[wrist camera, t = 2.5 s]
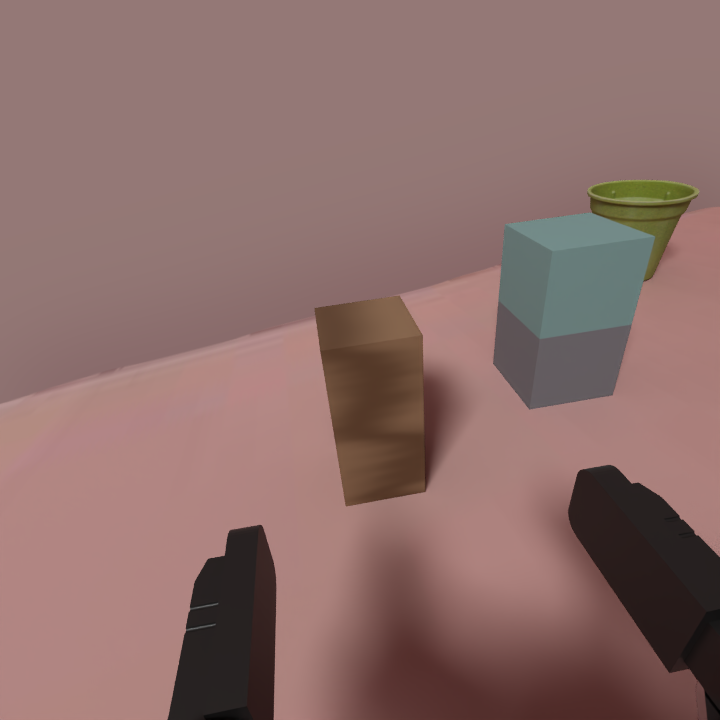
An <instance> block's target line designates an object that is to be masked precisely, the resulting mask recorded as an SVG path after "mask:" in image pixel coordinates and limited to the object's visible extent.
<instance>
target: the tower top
mask: <svg viewBox="0 0 720 720" xmlns="http://www.w3.org/2000/svg"><path fill="white" fill-rule="evenodd" d="M654 240H655V236H653V235H650V234H647V233H644V232H642V231H639V230H636V229H634V228H631V227H628V226H625V225H623V224H620V223H617V222H615V221H612V220H609V219H606V218H604V217H601V216H598V215H596V214H593V213H584V214H577V215H570V216H562V217H556V218H547V219H541V220H534V221H526V222H519V223H511V224H505V230H504V242H503V255H502V265H501V277H500V289H499V301H500V302H501V303H502V304H503V305H504V306H505V307H506V308H507V309H508V310H509V311H510V312H511V313H512V314H513V315H514V316H516V317H517V318H518V319H519V320H520V321H521V322H522V323H523V324H524V325H525V326H526V327H527V328H528V329H529V330H530V331H531V332H533V333H534V334H535V335H536V336H537V337H538V338H539V339H543V338H550V337H556V336H562V335H568V334H575V333H581V332H587V331H594V330H600V329H606V328H613V327H619V326H625V325H631V324H632V321H633V317H634V313H635V310H636V306H637V302H638V299H639V295H640V291H641V288H642V284H643V280H644V277H645V273H646V269H647V265H648V262H649V258H650V254H651V251H652V247H653V243H654Z"/></svg>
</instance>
